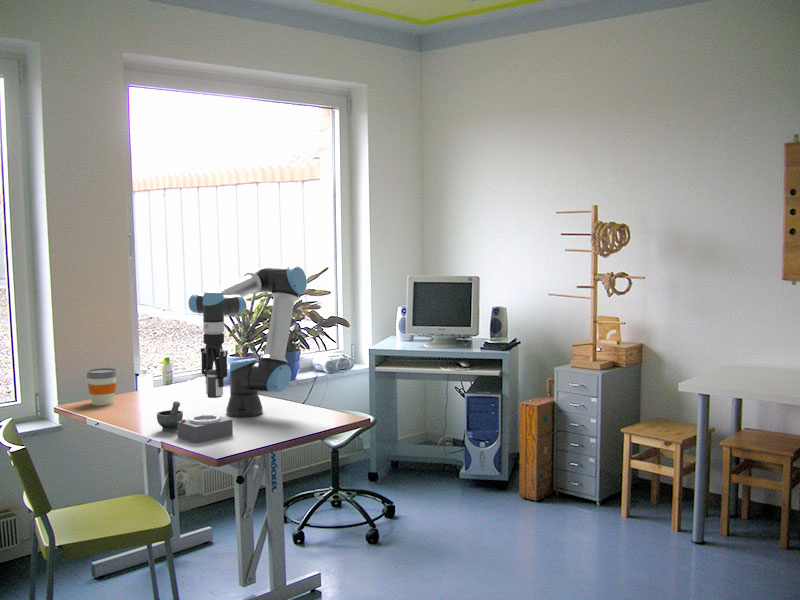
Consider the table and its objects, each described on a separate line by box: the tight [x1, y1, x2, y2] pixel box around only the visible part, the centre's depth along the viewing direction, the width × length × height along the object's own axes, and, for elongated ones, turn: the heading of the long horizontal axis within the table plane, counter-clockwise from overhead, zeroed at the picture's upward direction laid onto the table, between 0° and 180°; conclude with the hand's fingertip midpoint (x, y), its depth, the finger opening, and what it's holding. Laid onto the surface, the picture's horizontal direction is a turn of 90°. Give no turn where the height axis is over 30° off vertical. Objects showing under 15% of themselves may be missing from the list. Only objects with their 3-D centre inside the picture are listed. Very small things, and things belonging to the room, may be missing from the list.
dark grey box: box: [177, 414, 234, 444], centre depth 288 cm, size 16×12×7 cm
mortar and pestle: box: [156, 400, 184, 433], centre depth 296 cm, size 11×9×12 cm
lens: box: [206, 368, 223, 399], centre depth 287 cm, size 5×5×10 cm
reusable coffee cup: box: [86, 367, 118, 406], centre depth 344 cm, size 13×13×15 cm
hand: (214, 394), depth 287 cm, fingers closed on lens, 5 cm apart
